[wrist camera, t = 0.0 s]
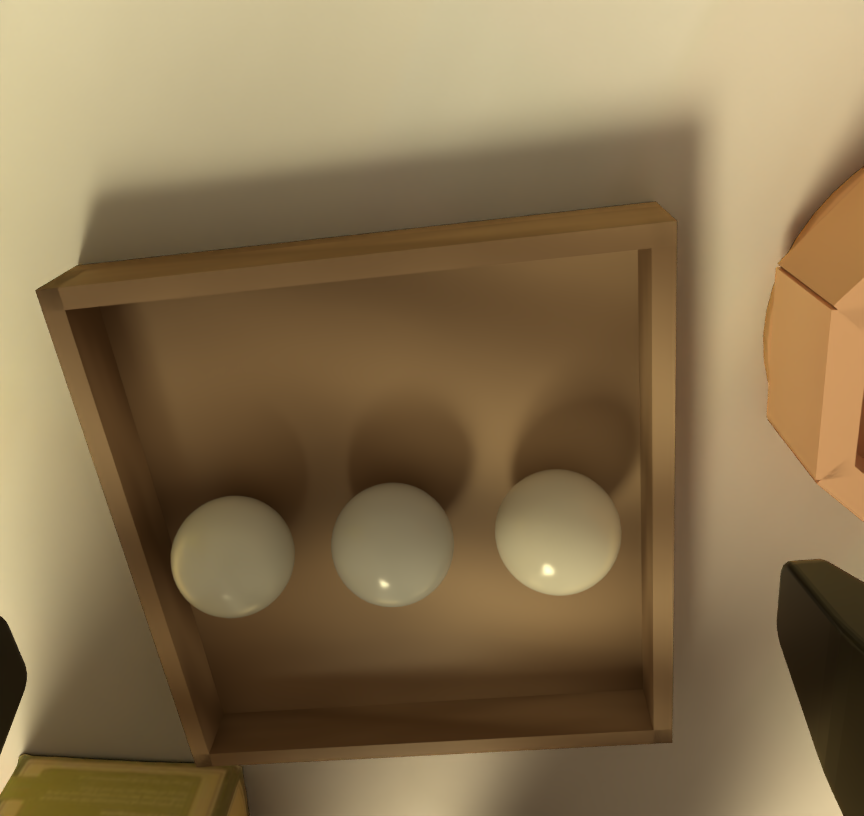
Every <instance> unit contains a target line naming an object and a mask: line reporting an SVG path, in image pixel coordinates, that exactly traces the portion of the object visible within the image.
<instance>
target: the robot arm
mask: <svg viewBox="0 0 864 816" xmlns="http://www.w3.org/2000/svg"><path fill="white" fill-rule="evenodd" d="M777 631H778V637H779V641H780V645H781V648H782V651H783V654H784V657H785V660H786V663H787V666H788V669H789V672H790V675H791V678H792V681H793V684H794V687H795V690H796V692H797V695H798V698H799V701H800V704H801V707H802V710H803V713H804V716H805V719H806V722H807V725H808V728H809V731H810V734H811V737H812V740H813V743H814V746H815V749H816V752H817V755H818V757H819V760H820V763H821V766H822V768H823V771H824V774H825V776H826V778H827V780H828V783H829V785H830V787H831V790H832V792H833V794H834V796H835V799H836V801H837V803H838V805H839V807H840V809H841V811H842V813H843V816H864V582H862V581H860V580H859V579H857V578H855V577H854V576H852V575H850V574H848V573H847V572H845V571H843V570H842V569H840V568H838V567H837V566H835V565H833V564H831V563H830V562H828V561H825V560H822V559H813V560H798V561H789V562H787V563H786V564H785V565H783V568H782V571H781V576H780V588H779V600H778V612H777ZM26 681H27V671H26V666H25V663H24V661H23V658H22V656H21V654H20V651H19V649H18V647H17V644H16V642H15V640H14V637H13V635H12V633H11V630H10V628H9V626H8V624H7V622H6V621H5V620H4V619H3V618H2V617H1V616H0V754H1V752H2V749H3V746H4V744H5V741H6V738H7V736H8V733H9V730H10V728H11V725H12V722H13V720H14V717H15V714H16V712H17V709H18V706H19V704H20V701H21V698H22V696H23V693H24V690H25V687H26Z"/></svg>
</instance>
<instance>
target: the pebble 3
mask: <svg viewBox="0 0 864 816" xmlns="http://www.w3.org/2000/svg"><path fill="white" fill-rule="evenodd" d="M621 534H622V530H621V522H620V518H619V514H618V512H617V509H616V507H615V505H614V503H613V501H612V499H611V498H610V496H609V495H608V494H607V493H606V491H605V490H604V489H603V488H602V487H601V486H600V485H598V484H597V483H596V482H595V481H593V480H592V479H590V478H589V477H587V476H585V475H583V474H580V473H577V472H574V471H570V470H564V469H549V470H543V471H539V472H536V473H533V474H531V475H529V476H527V477H525V478H524V479H522V480H521V481H519V482H518V483H517V484H516V485H515V486H513V487H512V488H511V490H510V491H509V492H508V493H507V495H506V496H505V498H504V499H503V501H502V503H501V505H500V507H499V510H498V513H497V517H496V522H495V539H496V545H497V549H498V552H499V555H500V557H501V559H502V561H503V563H504V565H505V566H506V568H507V569H508V570H509V572H510V573H511V574H512V575H513V576H514V577H515V578H516V579H517V580H518V581H520V582H521V583H522V584H523V585H525V586H527V587H528V588H530V589H532V590H534V591H537V592H540V593H543V594H547V595H554V596H566V595H572V594H577V593H580V592H583V591H585V590H587V589H589V588H591V587H592V586H594V585H595V584H597V583H598V582H599V581H600V580H602V579H603V578H604V577H605V576H606V575H607V573H608V572H609V571H610V569H611V568H612V566H613V565H614V563H615V561H616V559H617V556H618V553H619V550H620V545H621Z"/></svg>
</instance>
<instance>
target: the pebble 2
mask: <svg viewBox="0 0 864 816" xmlns="http://www.w3.org/2000/svg"><path fill="white" fill-rule="evenodd" d="M453 552H454V536H453V530H452V527H451V524H450V521H449V518H448V516H447V515H446V513H445V511H444V510H443V508H442V507H441V505H440V504H439V503H438V502H437V501H436V500H435V499H434V498H433V497H432V496H430V495H429V494H428V493H426V492H425V491H423V490H421V489H419V488H417V487H415V486H412V485H409V484H404V483H395V482H394V483H382V484H378V485H374V486H372V487H369V488H367V489H365V490H363V491H361V492H360V493H358V494H357V495H355V496H354V497H353V498H352V499H351V500H350V501H349V502H348V503H347V504H346V505H345V506H344V508H343V509H342V511H341V512H340V514H339V516H338V517H337V520H336V522H335V525H334V528H333V532H332V538H331V553H332V559H333V563H334V566H335V569H336V571H337V573H338V575H339V577H340V578H341V580H342V582H343V583H344V584H345V586H346V587H347V588H348V589H349V590H350V591H351V592H352V593H354V594H355V595H356V596H358V597H359V598H361V599H362V600H364V601H366V602H368V603H371V604H374V605H377V606H382V607H402V606H407V605H410V604H413V603H416V602H418V601H420V600H422V599H424V598H425V597H427V596H428V595H429V594H431V593H432V592H433V591H434V590H435V589H436V588H437V587H438V586H439V585H440V584H441V582H442V581H443V579H444V578H445V576H446V575H447V573H448V570H449V568H450V565H451V562H452V559H453Z"/></svg>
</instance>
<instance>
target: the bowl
mask: <svg viewBox="0 0 864 816" xmlns="http://www.w3.org/2000/svg"><path fill="white" fill-rule="evenodd" d="M778 264H779V265H780V266H781V267H776V274H775V283H774V285H773V288H772V292H771V296H770V300H769V303H768V307H767V311H766V318H765V326H764V334H763V348H764V363H765V369H766V375H767V380H768V383H769V386H768V402H767V418H768V421H769V422H770V423H771V425H772V426H773V427H774V429H775V430H776V431H777V432H778V434H779V435H780V436H781V438H782V439H783V440H784V442H785V443H786V444H787V446H788V447H789V448H790V449H791V451H792V452H793V453H794V455H795V456H796V457H797V459H798V460H799V461H800V462H801V464H802V465H803V466H804V468H805V469H806V470H807V472H808V473H809V474H810V476H811V477H812V478H813V479H814V481H815V482H816V483H817V484H818V485H819V486H820V487H821V488H823V489H824V490H825V491H826V492H828V493H829V494H830V495H831V496H832V497H834V498H835V499H836V500H837V501H839V502H840V503H841V504H842V505H843V506H845V507H846V508H847V509H848V510H850V511H851V512H852V513H853V514H854V515H856V516H857V517H858V518H859V519H861V520H862V521H863V522H864V167H863V168H861V169H860V170H858V171H857V172H856V173H855V174H853V175H852V176H851V177H850V178H849V179H848V180H847V181H846V182H844V183H843V184H842V185H841V186H840V187H839V188H838V189H837V190H836V191H834V192H833V193H832V194H831V196H830V197H829V198H828V199H827V200H826V201H825V202H824V203H823V204H822V206H821V207H820V208H819V209H818V210H817V211H816V212H815V213H814V215H813V216H812V217H811V219H810V220H809V221H808V223H807V224H806V226H805V227H804V228H803V230H802V231H801V233H800V234H799V235H798V237H797V238H796V240H795V242H794V243H793V245H792V247H791V249H790V251H789V252H788V254H787V255H786V256H785V257H784V258H783V259H782V260H781V261H780V262H778Z"/></svg>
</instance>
